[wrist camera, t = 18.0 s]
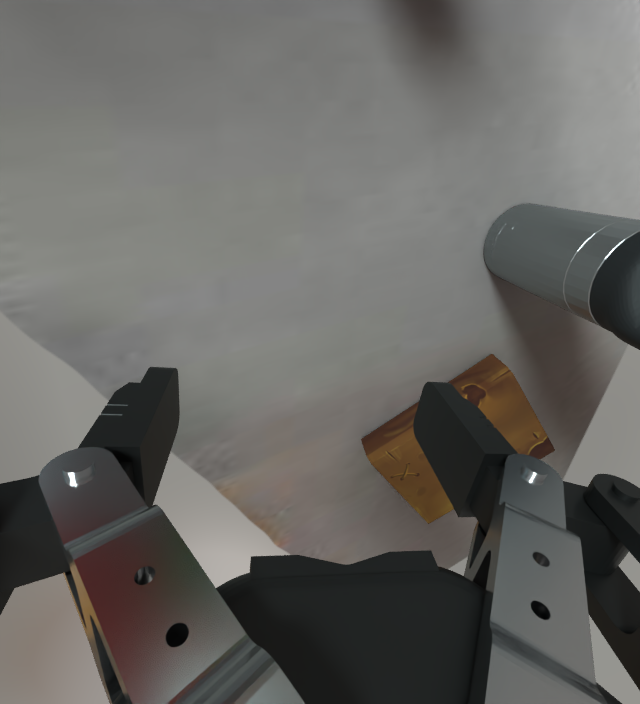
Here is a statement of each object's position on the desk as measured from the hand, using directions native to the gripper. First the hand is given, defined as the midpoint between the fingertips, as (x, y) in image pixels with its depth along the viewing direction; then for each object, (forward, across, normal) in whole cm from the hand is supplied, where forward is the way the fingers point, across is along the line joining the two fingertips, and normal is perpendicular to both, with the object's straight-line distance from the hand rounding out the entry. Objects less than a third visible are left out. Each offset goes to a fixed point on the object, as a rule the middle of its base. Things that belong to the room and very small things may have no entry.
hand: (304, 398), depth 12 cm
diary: (+35, -30, +28) cm, 54 cm away
